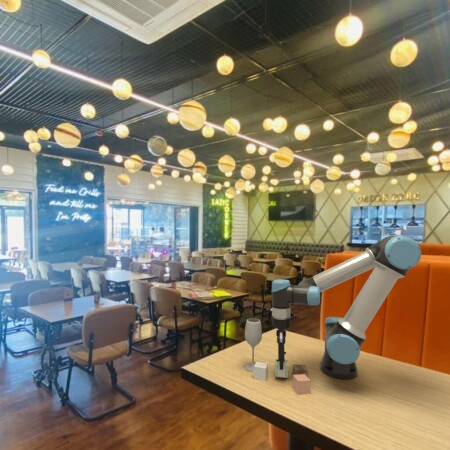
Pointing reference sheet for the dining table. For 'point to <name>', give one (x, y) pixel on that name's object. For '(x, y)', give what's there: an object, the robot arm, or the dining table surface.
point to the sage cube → (277, 369)
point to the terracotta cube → (301, 384)
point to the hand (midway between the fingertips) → (281, 373)
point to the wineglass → (252, 337)
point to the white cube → (260, 371)
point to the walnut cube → (299, 369)
